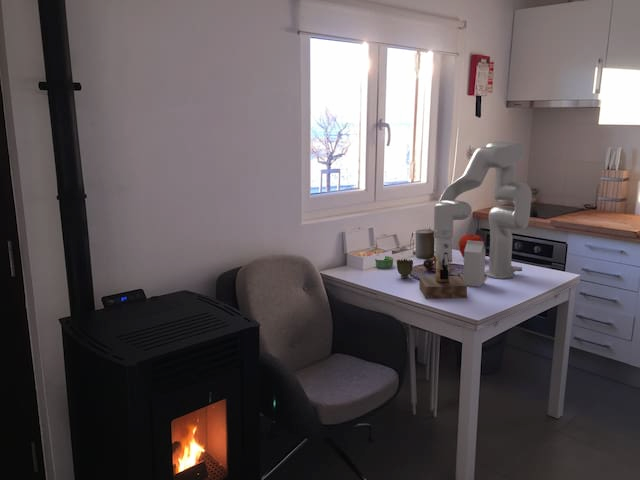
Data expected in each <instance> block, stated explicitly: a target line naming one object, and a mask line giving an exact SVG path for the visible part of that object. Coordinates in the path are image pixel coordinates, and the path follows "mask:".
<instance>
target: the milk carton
mask: <svg viewBox="0 0 640 480" xmlns="http://www.w3.org/2000/svg"><path fill="white" fill-rule="evenodd" d="M485 271H486V247H485V242H484V241H483V242H480V241H470V240H467V244H466V247H465V250H464V258H463V277H462V278H463V279H462V281H463V282H464V283H465V284H466V285H467V286H471V287H477V288H478V287H479V288H480V287H482V285H483V284H484V283H485V277H486V275H485Z"/></svg>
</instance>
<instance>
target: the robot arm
mask: <svg viewBox="0 0 640 480" xmlns="http://www.w3.org/2000/svg"><path fill="white" fill-rule="evenodd" d="M525 155H526V148H525V146H524V144H523V143H522V142H518V141H505V140H503V141H500V140H499V141H498V140H497V141H495V140H494V141H491V142H488V143H487V144H486V145H485V146H482V147H478V148H476V149H475V150H474V152H473V154H472V156H471V158H470V160H469V162H468V163H467V166H466V167H465V169H464V172H463V173H462V175H461V176H460V177H459V178H457V179H456V180H454V181H453V182H451V184H449V185H448V186H447V187H446V188H445V189H444V191H443V192H442V194H441V195H440V198H439V200H438V202H437V203H436V204H435V205H434V209H433V210H434V211H433V213H434V214H433V215H434V216H433V218H434V219H433V230H434V239H435V255H436V258H437V260H438V261H439V262H440V263H441V270H440V279H448V261H449V264H450V263H452V262H453V245H452V239H453V238H454V221H463V220H467V219H468V218H470V216H471V214H472V206H471V205H470V204H469V202H466V201H464V200H463V201H462V200H456V199H457V198H458V197H459V196H460V195H462V194H464V193H466V192H469V191H472V190H475V189H476V188H479V187H480V186H481V185H483V182H484V180H485V178H486V176H487V174H488V171H489V170H490V169H494V171H495V173H494V174H495V175H494V176H495V177H494V187H493V188H494V189H493V198H494V200H495V201H496V202H498V203H503V204H510V205H514V206H513V207H512V206H507V205H495V206H494V207H492V208H490V210H489V211H488V212H489V213H488V223H489V235H490V236H489V253H488V254H489V255H488V256H489V259H488V269H487V270H485V276H487V277H489V278H492V279H503V280H505V279H511V278H514V277H515V272H522V271H523V268H522V266H515V265H514V266H513V265H512V259H513V257H512V255H513V254H512V253H513V233H512V231H511V230H515V231H524V230H526V228H527V227H528V225H529V222H530V218H531V208H532V207H531V206H532V198H533V197H532V189H531V187H530V186H529V185H528V184H527V183H525V182H517V180H516V179H517V174H516V173H517V170H516V166H515V164H518V163H519V162H521V161H522V160H523V159H524V157H525ZM442 261H444V262H442ZM443 264H444V265H443Z"/></svg>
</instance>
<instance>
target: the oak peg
mask: <svg viewBox="0 0 640 480" xmlns="http://www.w3.org/2000/svg"><path fill="white" fill-rule="evenodd" d="M442 262H444V261H442ZM443 265H444V264H443ZM440 270H441V263H440V262H439V261H438V260H437V259H436V264H435V277H436V282H438V283H448V282H449V276H450V262H449V261H448V279H440Z"/></svg>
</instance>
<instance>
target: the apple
mask: <svg viewBox="0 0 640 480" xmlns="http://www.w3.org/2000/svg"><path fill="white" fill-rule="evenodd" d="M467 240H470V241H480V242H484V239H483V238H482V236H480V235H477V234H464V235H463V236H462V237H460V238H459V240H458V247H459V248H458V249H459V252H460V253H461V257H462V258H463V259H464V250H465V247H466V244H467Z"/></svg>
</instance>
